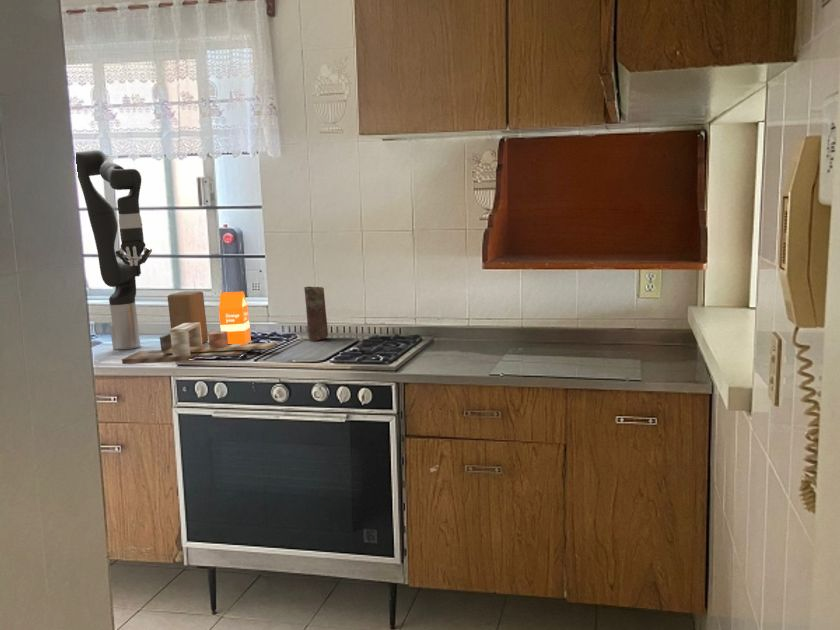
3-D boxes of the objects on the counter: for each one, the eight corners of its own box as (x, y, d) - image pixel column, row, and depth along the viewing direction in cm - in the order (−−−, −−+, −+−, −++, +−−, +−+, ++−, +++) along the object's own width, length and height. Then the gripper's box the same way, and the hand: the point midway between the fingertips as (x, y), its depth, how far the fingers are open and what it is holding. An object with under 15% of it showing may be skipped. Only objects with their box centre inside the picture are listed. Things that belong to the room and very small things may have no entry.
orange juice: (246, 346, 293) (240, 292, 290) (222, 348, 293) (216, 294, 290) (251, 342, 300) (246, 290, 297) (228, 343, 301) (223, 291, 298)
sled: (161, 354, 278) (159, 337, 277) (169, 350, 284) (167, 333, 284) (271, 348, 274) (269, 331, 273) (276, 344, 281) (274, 328, 280)
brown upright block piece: (309, 338, 302) (305, 285, 299) (329, 336, 302) (324, 284, 299) (307, 341, 294) (303, 288, 291) (327, 340, 294) (323, 286, 291)
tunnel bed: (122, 363, 276) (118, 332, 274) (139, 355, 289) (136, 325, 288) (240, 358, 272) (237, 326, 270) (252, 349, 286) (249, 319, 284)
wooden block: (172, 347, 301) (166, 294, 298) (186, 342, 311) (181, 291, 308) (195, 347, 298) (189, 294, 295) (209, 342, 308) (204, 290, 305)
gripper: (107, 228, 275) (113, 278, 278) (144, 226, 274) (150, 276, 277) (117, 227, 283) (123, 276, 285) (153, 225, 282) (159, 274, 284)
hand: (136, 276), depth 281 cm, fingers closed
